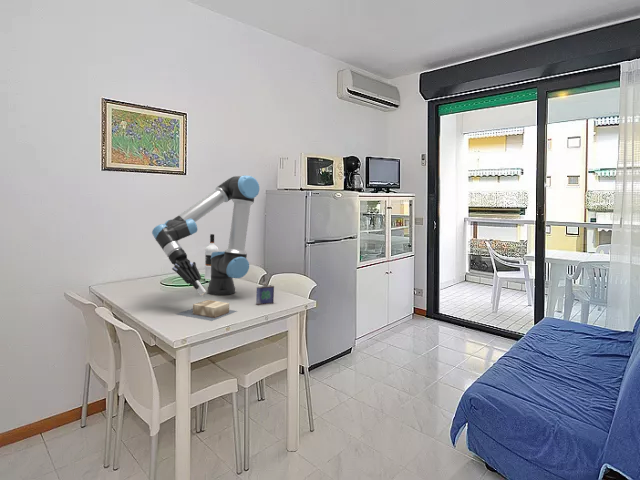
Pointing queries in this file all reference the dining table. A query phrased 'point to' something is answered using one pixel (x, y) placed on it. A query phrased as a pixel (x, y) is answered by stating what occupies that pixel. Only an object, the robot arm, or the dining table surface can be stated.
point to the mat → (190, 314)
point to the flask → (265, 294)
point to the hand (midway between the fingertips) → (203, 293)
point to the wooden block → (211, 308)
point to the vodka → (209, 256)
